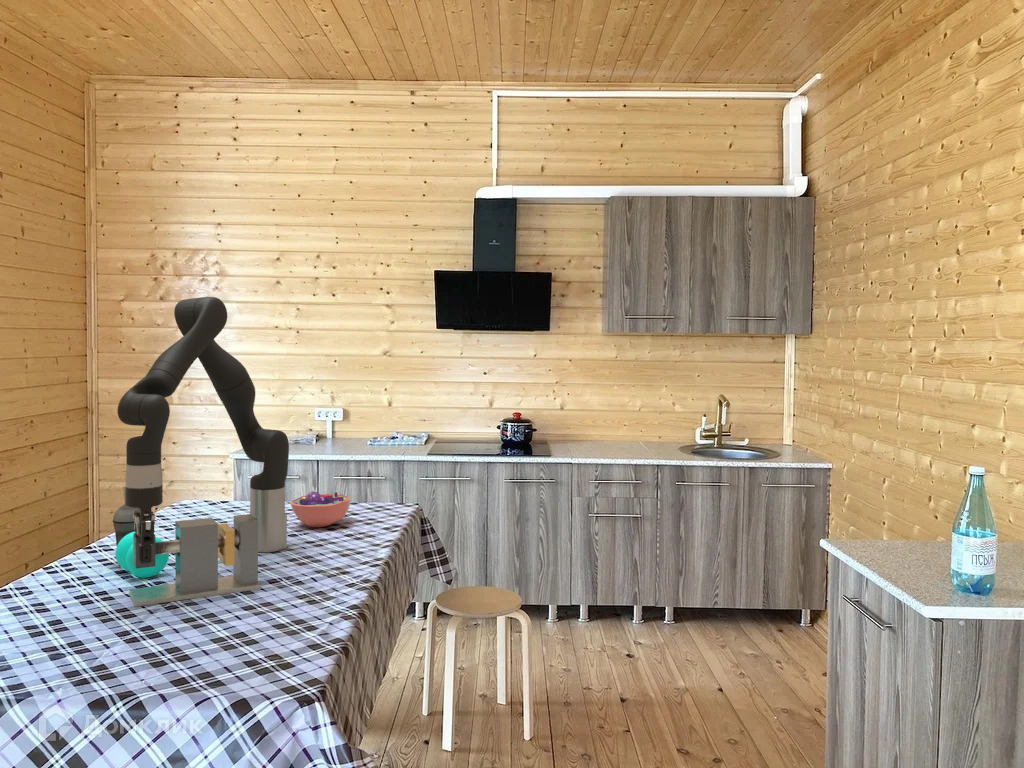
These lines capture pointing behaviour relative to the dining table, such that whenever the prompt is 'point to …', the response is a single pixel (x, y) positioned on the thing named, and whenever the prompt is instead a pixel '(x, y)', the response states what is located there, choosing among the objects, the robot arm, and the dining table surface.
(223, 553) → the spacer
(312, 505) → the cell model
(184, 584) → the pillow blocks
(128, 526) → the beverage cup
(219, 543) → the shaft
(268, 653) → the dining table surface
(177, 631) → the dining table surface
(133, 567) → the donuts
